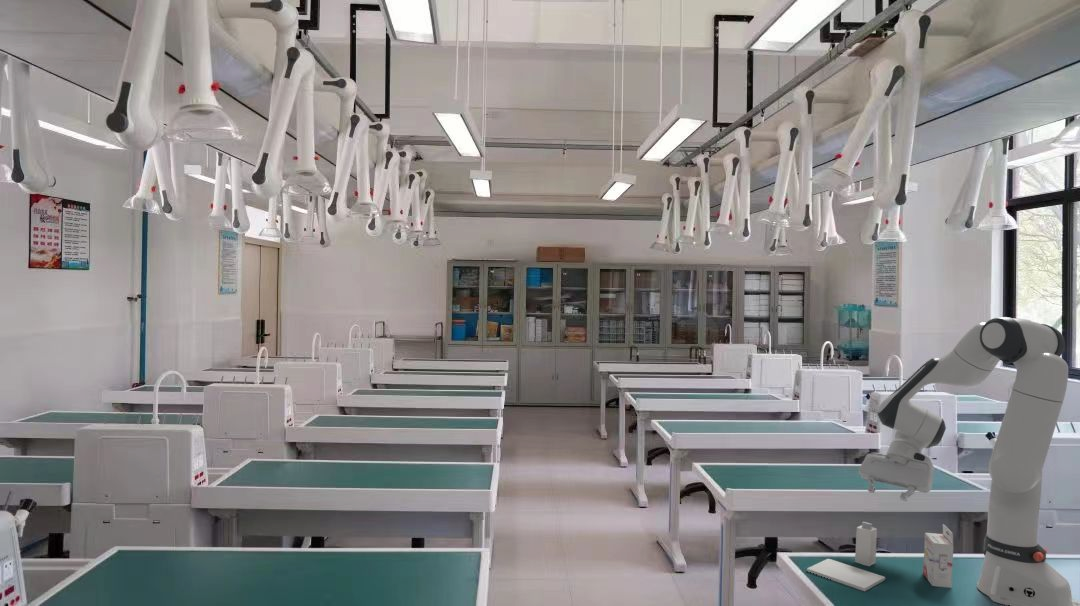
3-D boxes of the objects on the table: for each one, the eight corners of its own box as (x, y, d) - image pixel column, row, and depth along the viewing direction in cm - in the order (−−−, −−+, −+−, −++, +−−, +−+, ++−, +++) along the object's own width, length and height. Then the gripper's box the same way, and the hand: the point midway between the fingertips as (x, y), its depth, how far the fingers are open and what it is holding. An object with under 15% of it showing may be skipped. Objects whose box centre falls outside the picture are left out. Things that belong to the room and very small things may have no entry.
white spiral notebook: (884, 579, 196) (885, 576, 196) (864, 591, 188) (864, 588, 188) (828, 561, 208) (828, 558, 208) (806, 571, 200) (806, 568, 200)
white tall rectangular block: (875, 563, 208) (877, 523, 208) (869, 566, 205) (871, 526, 205) (861, 558, 211) (863, 519, 211) (855, 561, 208) (856, 522, 208)
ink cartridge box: (921, 573, 201) (924, 521, 201) (941, 575, 200) (944, 522, 200) (931, 586, 193) (934, 531, 192) (952, 588, 192) (955, 533, 191)
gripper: (865, 445, 228) (849, 481, 222) (935, 458, 213) (919, 497, 206) (871, 457, 231) (855, 493, 225) (940, 471, 216) (925, 510, 210)
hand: (886, 495), depth 216 cm, fingers open, 8 cm apart
